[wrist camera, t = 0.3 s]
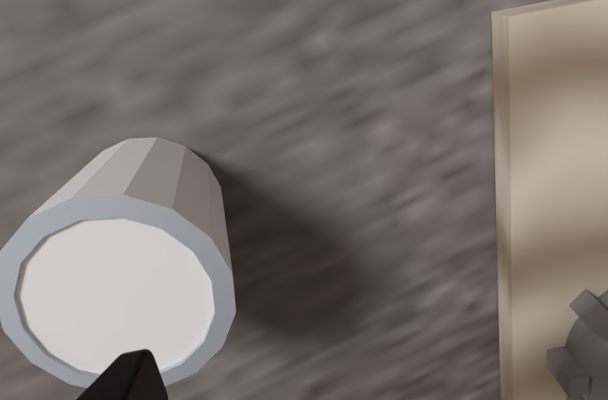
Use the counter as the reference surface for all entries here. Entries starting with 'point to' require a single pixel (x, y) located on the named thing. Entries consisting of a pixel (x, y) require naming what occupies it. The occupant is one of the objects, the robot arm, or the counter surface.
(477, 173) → the counter surface
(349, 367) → the counter surface
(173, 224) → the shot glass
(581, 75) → the gear board
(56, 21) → the counter surface
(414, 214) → the counter surface
